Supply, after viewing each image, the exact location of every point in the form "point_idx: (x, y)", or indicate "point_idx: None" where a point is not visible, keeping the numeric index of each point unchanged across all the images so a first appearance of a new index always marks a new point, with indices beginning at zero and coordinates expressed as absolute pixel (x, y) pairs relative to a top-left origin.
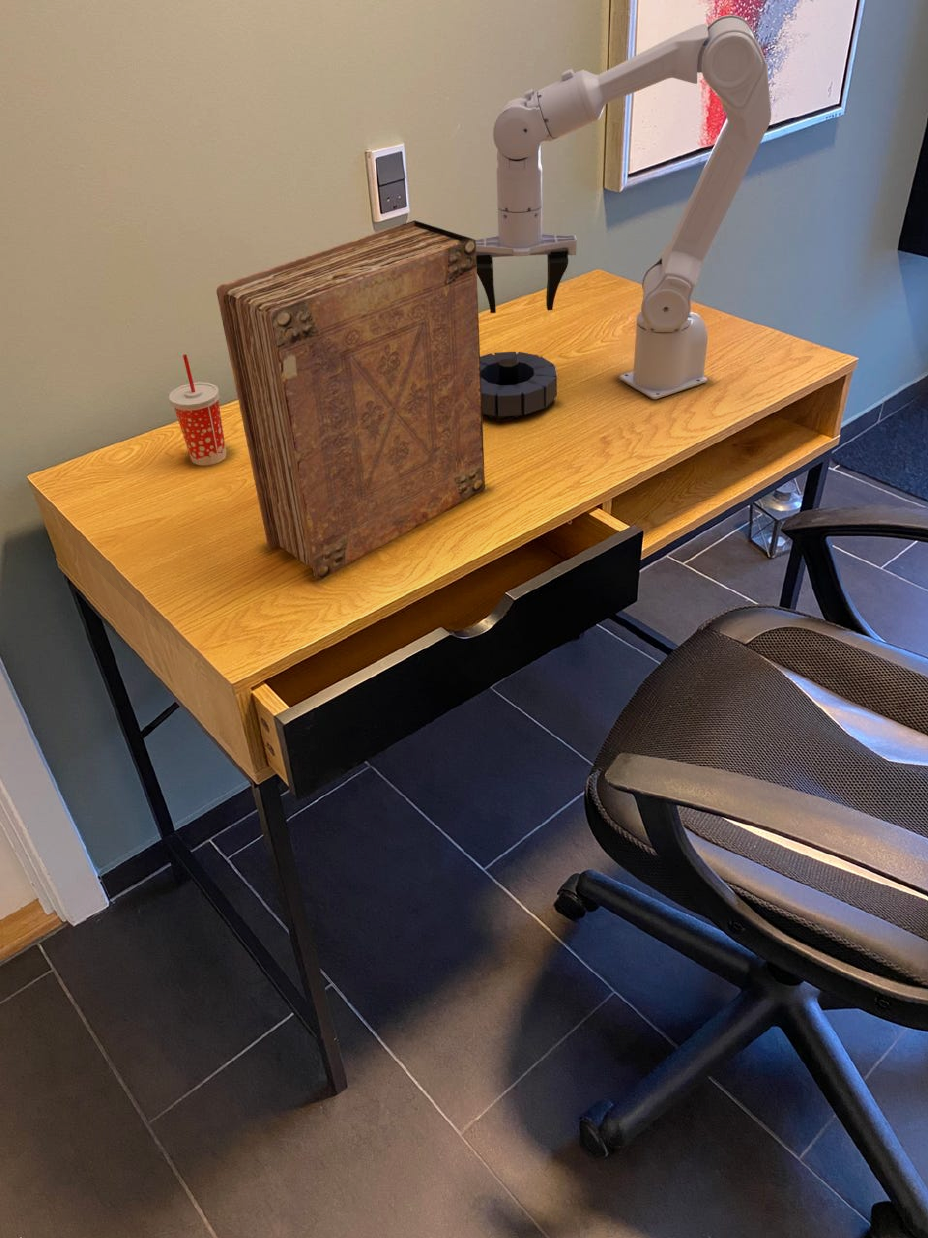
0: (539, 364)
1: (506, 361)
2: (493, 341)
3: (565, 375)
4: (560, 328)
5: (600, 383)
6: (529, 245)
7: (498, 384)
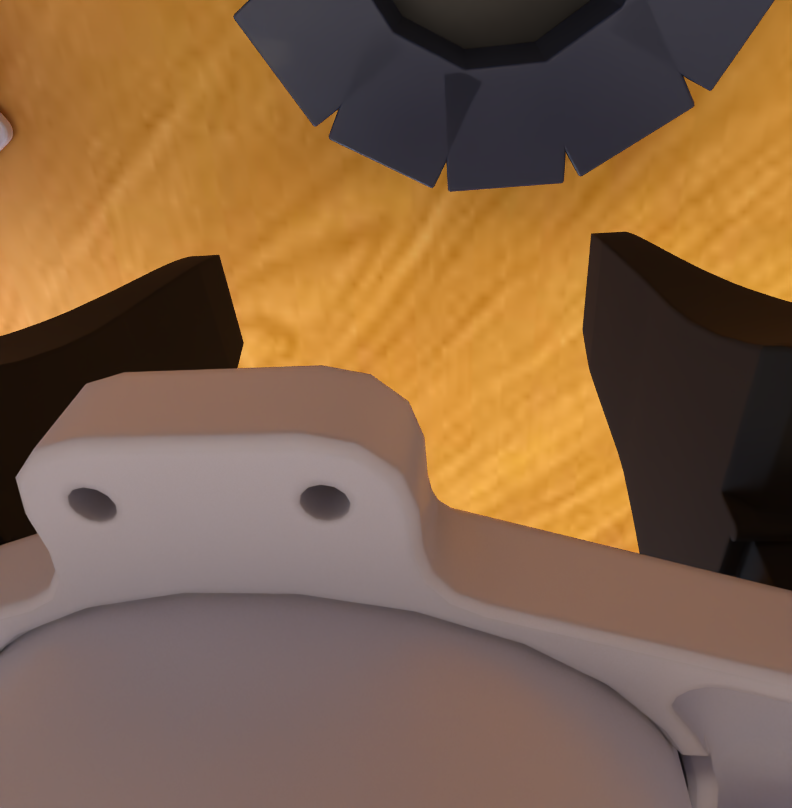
0: (312, 9)
1: None
2: (531, 450)
3: (246, 178)
4: None
5: (86, 95)
6: (68, 646)
7: (542, 4)
